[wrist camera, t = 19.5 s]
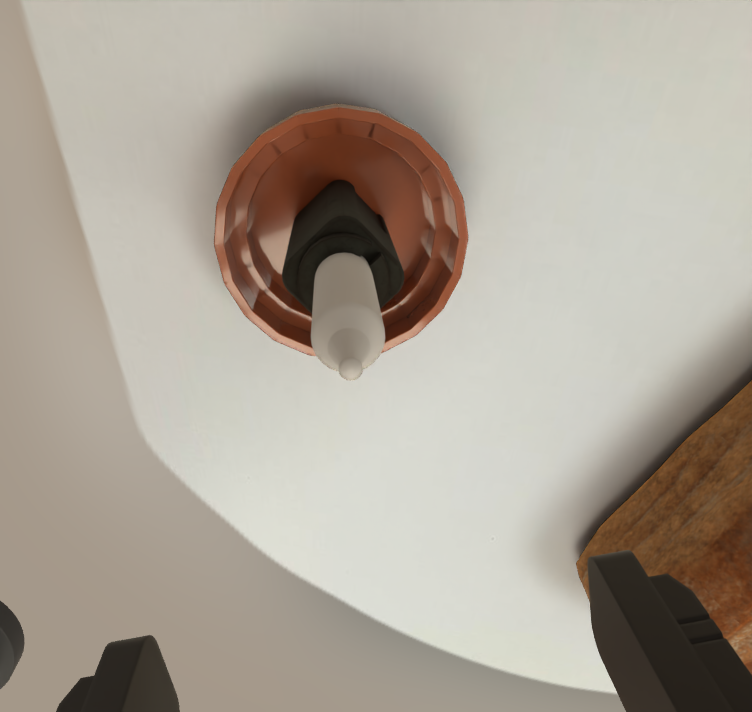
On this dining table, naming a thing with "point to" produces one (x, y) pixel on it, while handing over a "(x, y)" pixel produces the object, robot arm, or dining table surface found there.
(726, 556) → the bread
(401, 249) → the bowl
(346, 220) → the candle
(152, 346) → the dining table surface
